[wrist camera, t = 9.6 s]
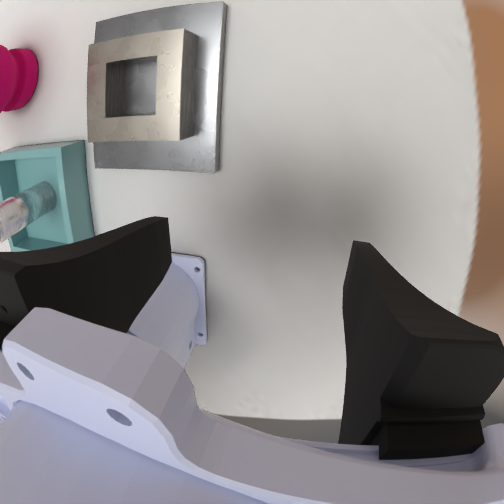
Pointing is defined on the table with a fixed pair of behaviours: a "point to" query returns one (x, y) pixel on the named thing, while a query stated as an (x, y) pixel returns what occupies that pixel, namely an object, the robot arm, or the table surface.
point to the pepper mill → (16, 77)
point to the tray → (64, 183)
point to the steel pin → (25, 208)
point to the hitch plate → (147, 90)
